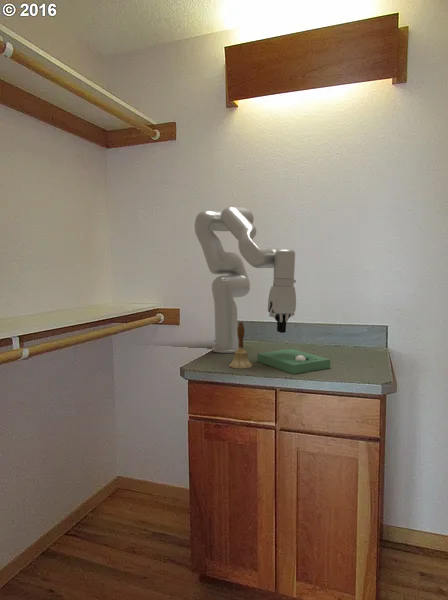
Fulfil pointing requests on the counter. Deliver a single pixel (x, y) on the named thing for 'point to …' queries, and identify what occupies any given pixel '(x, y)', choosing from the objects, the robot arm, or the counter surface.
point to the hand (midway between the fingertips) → (281, 331)
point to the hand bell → (240, 352)
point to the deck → (293, 361)
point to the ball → (300, 358)
